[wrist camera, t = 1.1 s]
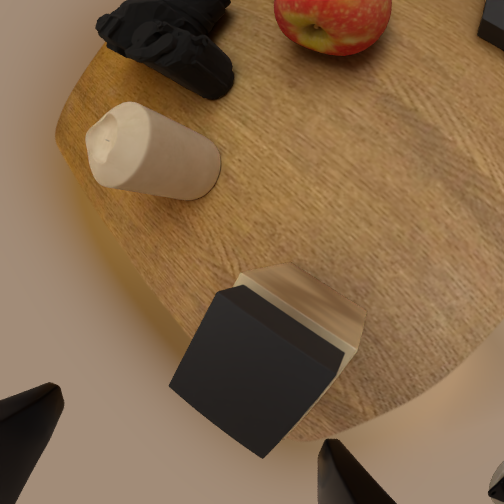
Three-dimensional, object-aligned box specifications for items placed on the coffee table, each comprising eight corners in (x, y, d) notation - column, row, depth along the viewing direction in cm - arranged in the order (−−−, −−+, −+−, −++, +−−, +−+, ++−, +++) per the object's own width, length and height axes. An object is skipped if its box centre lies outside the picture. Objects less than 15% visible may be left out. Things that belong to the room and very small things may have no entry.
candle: (157, 187, 26) (63, 169, 17) (181, 129, 25) (94, 89, 16) (204, 211, 25) (107, 198, 15) (232, 147, 23) (146, 101, 14)
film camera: (286, 29, 21) (240, -40, 13) (215, 113, 24) (143, 68, 16) (182, -5, 26) (133, -47, 17) (130, 60, 28) (70, 28, 20)
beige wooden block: (367, 311, 20) (358, 350, 13) (317, 381, 21) (282, 441, 14) (290, 261, 22) (240, 271, 15) (247, 333, 23) (187, 369, 16)
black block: (345, 352, 13) (337, 374, 11) (280, 432, 14) (262, 459, 12) (243, 283, 15) (216, 291, 12) (195, 369, 16) (167, 386, 14)
